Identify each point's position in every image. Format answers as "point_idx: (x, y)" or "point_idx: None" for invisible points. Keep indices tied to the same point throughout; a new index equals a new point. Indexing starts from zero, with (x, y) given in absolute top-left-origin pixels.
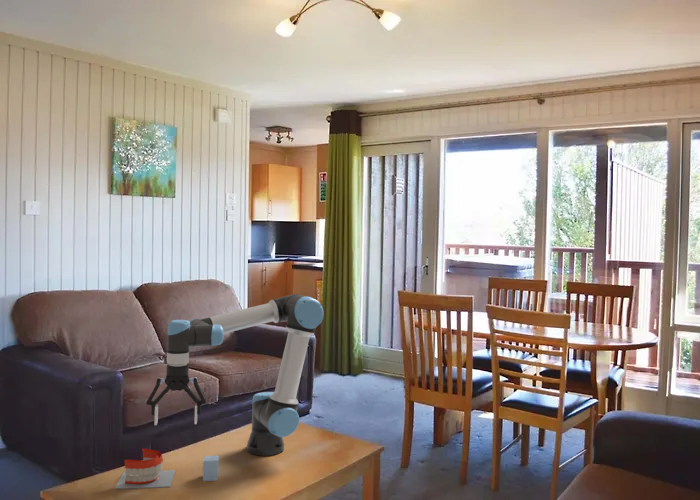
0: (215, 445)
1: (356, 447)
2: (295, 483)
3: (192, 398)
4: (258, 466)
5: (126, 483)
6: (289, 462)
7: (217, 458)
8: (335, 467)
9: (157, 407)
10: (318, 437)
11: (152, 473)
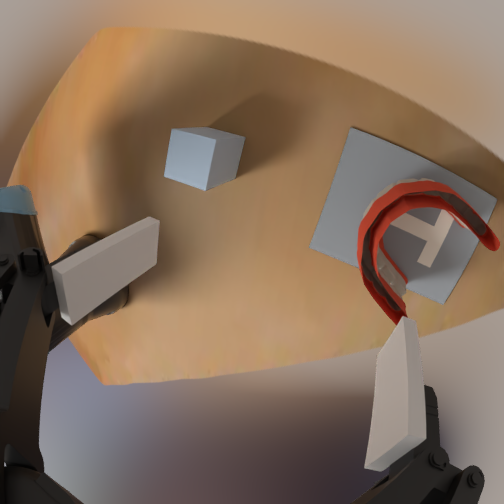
0: (186, 348)
1: None
2: (77, 77)
3: (22, 325)
4: (112, 185)
5: None
6: (69, 185)
7: (170, 151)
8: (31, 140)
9: (389, 436)
10: None
11: (405, 179)
